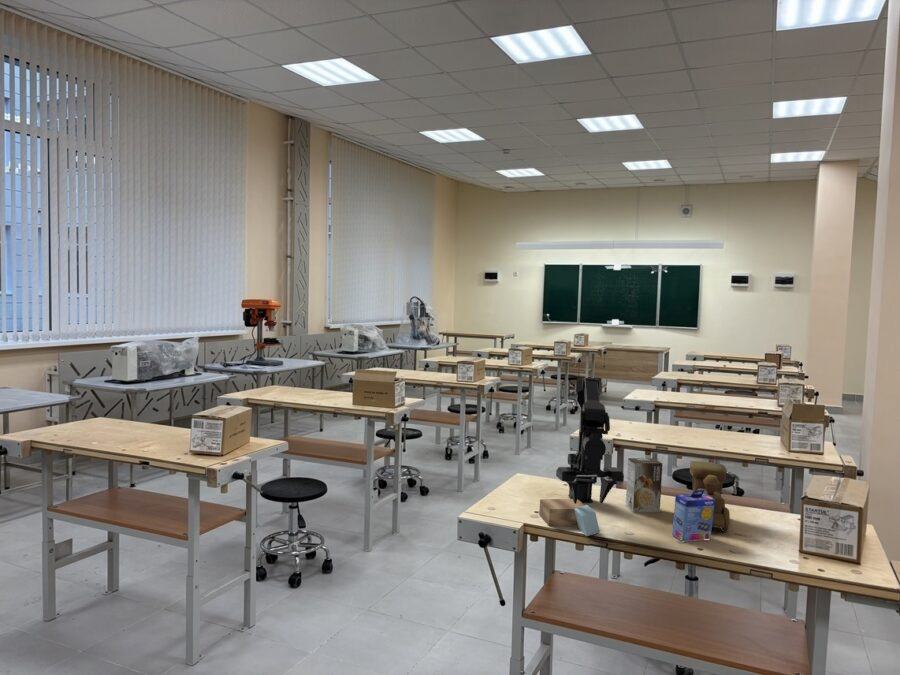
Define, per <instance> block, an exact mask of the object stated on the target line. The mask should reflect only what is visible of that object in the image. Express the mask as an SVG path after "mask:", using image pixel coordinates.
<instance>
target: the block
mask: <svg viewBox="0 0 900 675" xmlns="http://www.w3.org/2000/svg"><path fill="white" fill-rule="evenodd" d="M584 505H585V506H582V507H579V508H576V509H574V510H575V514H576V519H577V523H578V526H577V527H578V529H579V530H580V532H582V533H583V535H585V536H586V537H589V536H592V535H595V534H598V533H600V532H601V531H600V527H599V522H598V517H597V513H596V511H594V510H593V508H591V507H590V506H589V504H584Z"/></svg>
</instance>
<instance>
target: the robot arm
mask: <svg viewBox="0 0 900 675" xmlns="http://www.w3.org/2000/svg"><path fill="white" fill-rule="evenodd" d="M574 395H575V399H576V401H577V404H578V405H579V407H580V410H579V412H580V413H579V426H578V427H579V428H578V441H577V442H578V444H577V451H576V453H568V454H567V464H568V466H558V467H557V468H556V470H555V471H556V472H555V477H557V478H558V479H559V480H560V481H561V482H566V484H568V488H569V489H568V498H569V499H573V501H574V503H575V504H576V503H577V499H578V500H579V501H580V502H582V503H593V502H594V499H592V494H593V493H592V492H593V485H596V484H597V482H598V481H597V480H598V478H600V490H599V492H600V493H599V504H600V505H602V504H603V503H604V501H605V500H606V498H607V496H608V494H609V493H610V491H611V490H612V488H614V486H615V485H617V484H618V482H624V481H625V480H624V479H625V475H624V472H623V471H622V470H621V469H619V468H618V467H615V466H614V467H613V466H604V468H603V469H601V468H602V466H601V465H602V461H604V460H603V459H604V455H605V453H606V451H607V448H606V444H605V442H604V439H603V435H609V432H610V431H611V430H610V429H611V423H610V415H609V413H608V412H607V411H606V406H605V405H604V404H602V403H601V402H600V397H602V395H603V382H601V381H600V379H599V378H595V377H583V378H582V379H580V380H577V381H575V385H574Z"/></svg>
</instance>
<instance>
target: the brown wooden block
mask: <svg viewBox="0 0 900 675" xmlns="http://www.w3.org/2000/svg"><path fill="white" fill-rule="evenodd" d="M585 505H586V504H584V502H580V501H579V500H578V499H577V503H576V504H575V503H574V501H573V499H571V498H540V499H539V509H538V510H539V511H538V513H539V514H538V516H539V517H540V518H541V519H542V520H543V521H544V523H545V524H546V523H547V524H546V525H547V526H548V527H567V526H568V527H570V526H571V527H573V526H574V527H576V526H577V527H578V523H577V519H576V514H575V510H574V509H576V508H579V507H582V506H585Z"/></svg>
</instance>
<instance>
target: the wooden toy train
mask: <svg viewBox="0 0 900 675" xmlns="http://www.w3.org/2000/svg"><path fill="white" fill-rule="evenodd" d="M689 464H690V465H689V466H690V467H689V473H690V475H691V477H692V492H693V491H694V490H704V493H703V494H705V495H708V496H710V497H712V498H713V499H715V503H714V512H713V521H712V528H721V531H722V530H723V531H722V532H724V531H725V532H727V531H729V529H730V521H731V520H730V519H731V516H730V509H729V508H727V507H726V502H725V501H726V500H725V499H724V498H723V497H722V491H723V484H724V481H727V471H728V469H727V468H726V466H725V465H724V464H720V463H716V462H711V461H710V462H708V461H700V460H690V462H689ZM692 492H690V493H689V494H692ZM696 493H701V492H696Z"/></svg>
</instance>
